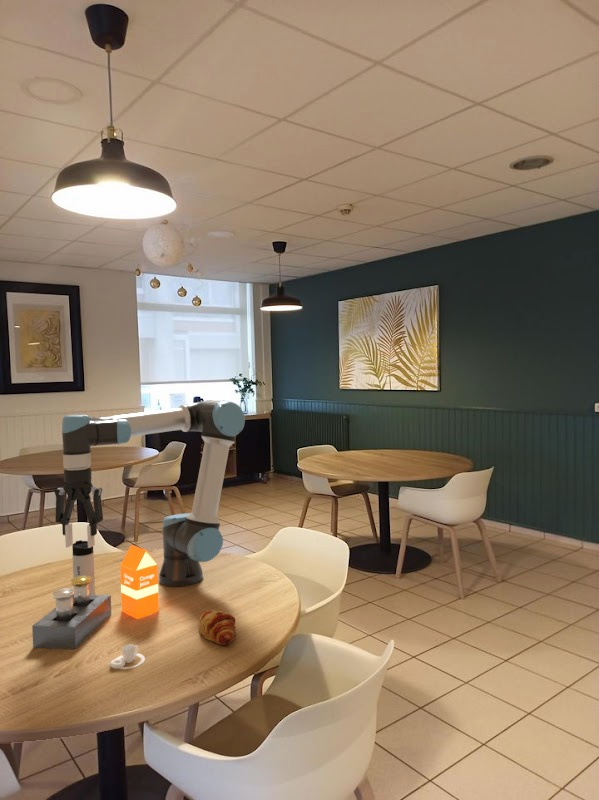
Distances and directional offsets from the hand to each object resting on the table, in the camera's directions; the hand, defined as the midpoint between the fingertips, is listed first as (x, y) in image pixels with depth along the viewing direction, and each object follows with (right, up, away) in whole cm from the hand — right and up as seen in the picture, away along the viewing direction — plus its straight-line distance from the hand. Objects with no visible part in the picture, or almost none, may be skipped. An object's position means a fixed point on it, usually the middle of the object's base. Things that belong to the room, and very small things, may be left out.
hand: (80, 546), depth 168 cm
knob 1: (-1, -18, -9) cm, 21 cm away
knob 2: (0, -18, +1) cm, 18 cm away
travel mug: (-4, -23, +15) cm, 27 cm away
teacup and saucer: (+18, -24, -22) cm, 37 cm away
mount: (0, -23, -4) cm, 23 cm away
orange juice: (+15, -23, +8) cm, 28 cm away
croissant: (+42, -23, -7) cm, 48 cm away
